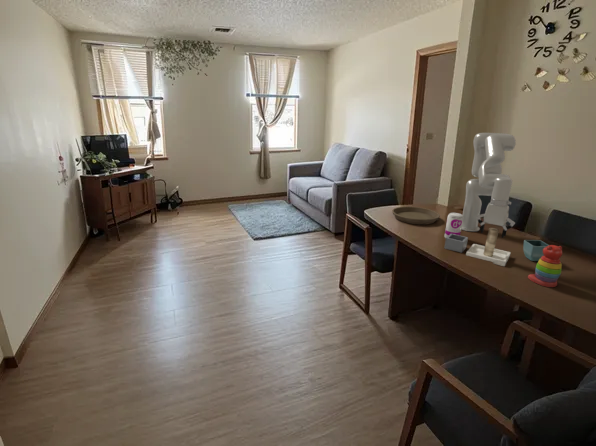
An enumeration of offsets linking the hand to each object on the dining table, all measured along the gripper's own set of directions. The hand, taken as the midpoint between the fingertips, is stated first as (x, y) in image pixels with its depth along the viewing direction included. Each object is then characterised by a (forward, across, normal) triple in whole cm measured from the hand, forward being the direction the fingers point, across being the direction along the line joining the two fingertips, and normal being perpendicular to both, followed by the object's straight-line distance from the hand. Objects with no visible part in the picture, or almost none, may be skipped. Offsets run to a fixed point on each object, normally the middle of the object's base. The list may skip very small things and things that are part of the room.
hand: (492, 234), depth 183 cm
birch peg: (+11, 0, 0) cm, 11 cm away
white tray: (+12, 0, 0) cm, 12 cm away
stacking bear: (+12, -26, +14) cm, 32 cm away
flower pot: (+12, -19, -12) cm, 26 cm away
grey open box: (+12, +16, +1) cm, 20 cm away
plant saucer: (+13, +53, -38) cm, 66 cm away
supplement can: (+13, +22, -14) cm, 29 cm away
